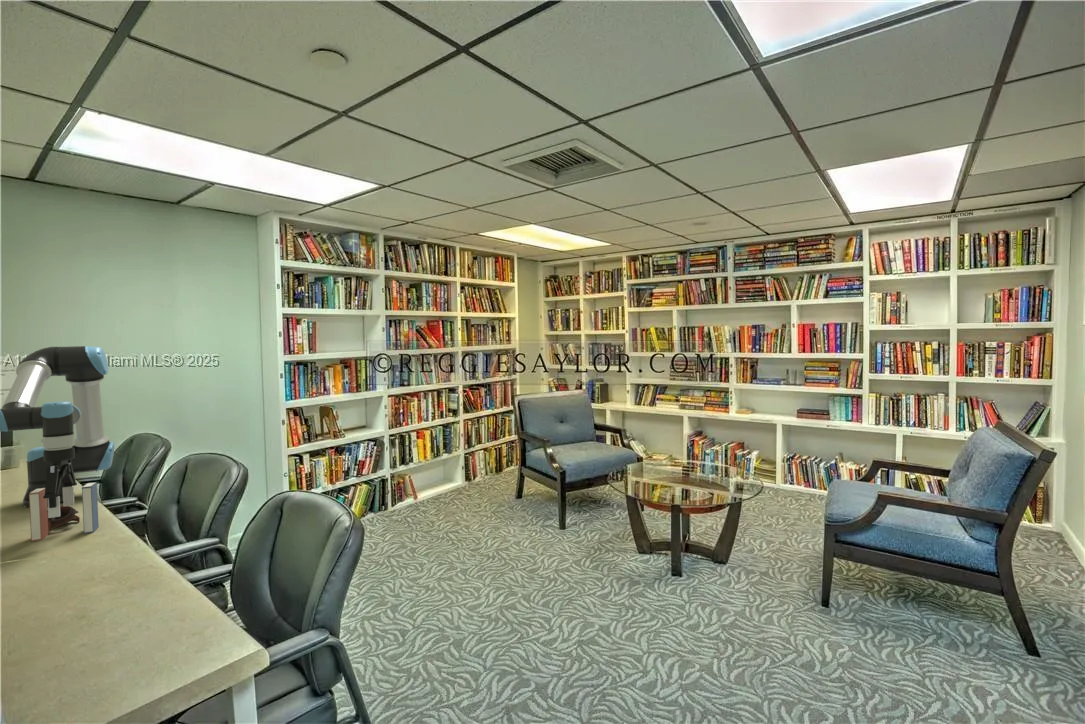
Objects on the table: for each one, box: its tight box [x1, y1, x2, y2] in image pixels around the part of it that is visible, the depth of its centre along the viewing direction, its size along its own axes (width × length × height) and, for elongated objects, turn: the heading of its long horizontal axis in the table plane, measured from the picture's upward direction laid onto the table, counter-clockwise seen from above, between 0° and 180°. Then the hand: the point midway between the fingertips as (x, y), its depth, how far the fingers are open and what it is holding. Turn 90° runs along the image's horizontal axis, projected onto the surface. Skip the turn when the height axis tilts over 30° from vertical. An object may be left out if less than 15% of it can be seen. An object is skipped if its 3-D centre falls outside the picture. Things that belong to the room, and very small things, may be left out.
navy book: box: [81, 481, 100, 535], centre depth 173 cm, size 6×2×16 cm, turn 29°
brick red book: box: [29, 488, 49, 542], centre depth 167 cm, size 6×2×16 cm, turn 29°
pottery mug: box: [47, 505, 81, 532], centre depth 177 cm, size 12×9×8 cm
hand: (61, 511), depth 167 cm, fingers open, 13 cm apart
